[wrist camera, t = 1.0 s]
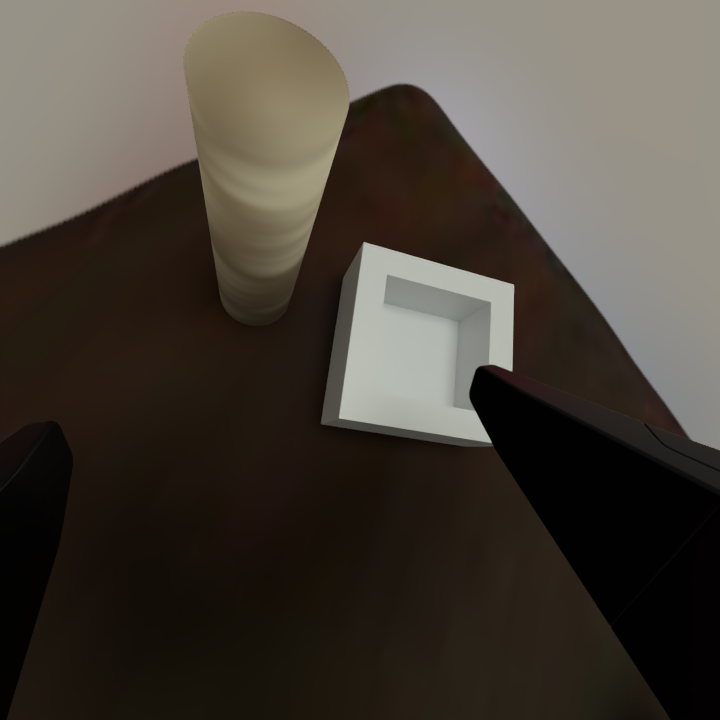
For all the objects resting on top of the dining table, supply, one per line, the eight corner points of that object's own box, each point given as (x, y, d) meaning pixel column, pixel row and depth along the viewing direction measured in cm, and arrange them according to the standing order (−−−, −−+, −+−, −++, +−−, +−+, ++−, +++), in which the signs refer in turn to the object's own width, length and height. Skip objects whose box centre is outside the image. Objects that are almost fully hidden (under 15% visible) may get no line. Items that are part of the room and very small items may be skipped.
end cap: (464, 446, 24) (510, 445, 20) (320, 424, 22) (338, 418, 18) (471, 310, 27) (514, 284, 22) (343, 277, 24) (363, 242, 20)
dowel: (299, 281, 23) (369, 69, 10) (273, 337, 22) (315, 177, 9) (238, 251, 23) (230, -16, 10) (207, 308, 21) (150, 88, 8)
